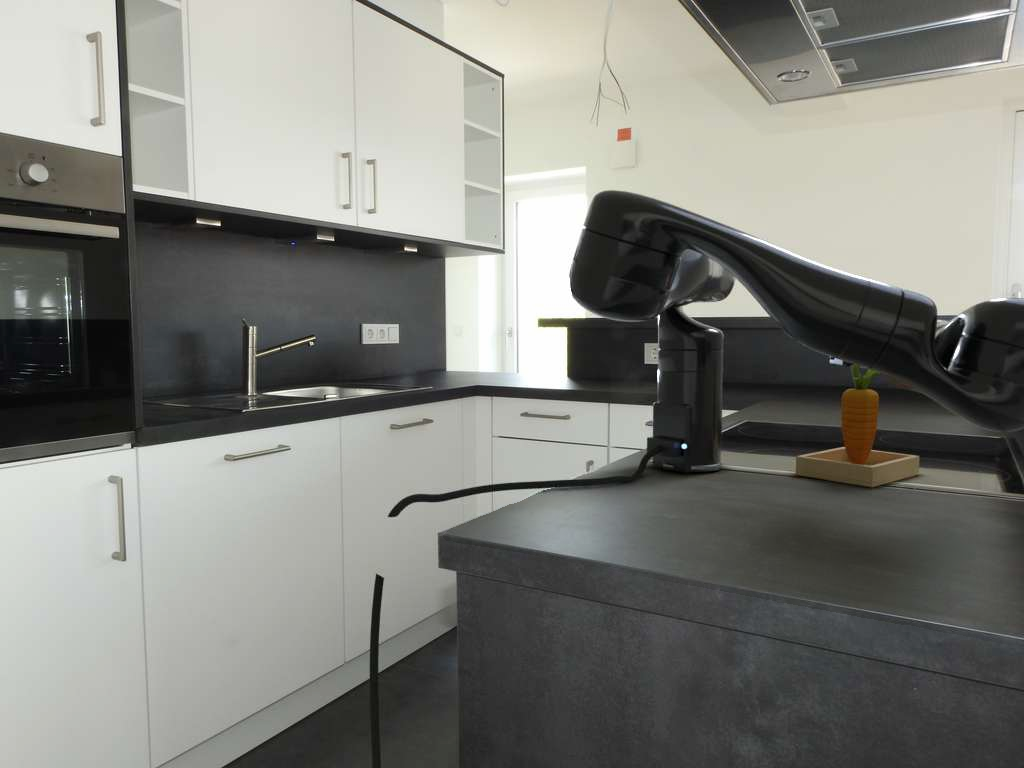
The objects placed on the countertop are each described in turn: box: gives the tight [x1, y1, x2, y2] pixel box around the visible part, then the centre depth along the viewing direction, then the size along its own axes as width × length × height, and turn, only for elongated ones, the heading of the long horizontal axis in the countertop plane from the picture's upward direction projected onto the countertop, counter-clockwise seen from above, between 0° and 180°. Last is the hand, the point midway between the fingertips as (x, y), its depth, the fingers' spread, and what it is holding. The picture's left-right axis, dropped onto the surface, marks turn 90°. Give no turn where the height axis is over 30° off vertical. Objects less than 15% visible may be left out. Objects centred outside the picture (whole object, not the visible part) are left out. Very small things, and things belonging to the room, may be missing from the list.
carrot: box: [840, 365, 880, 465], centre depth 99 cm, size 5×5×15 cm
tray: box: [795, 446, 920, 488], centre depth 100 cm, size 14×11×3 cm
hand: (882, 352), depth 89 cm, fingers open, 8 cm apart
